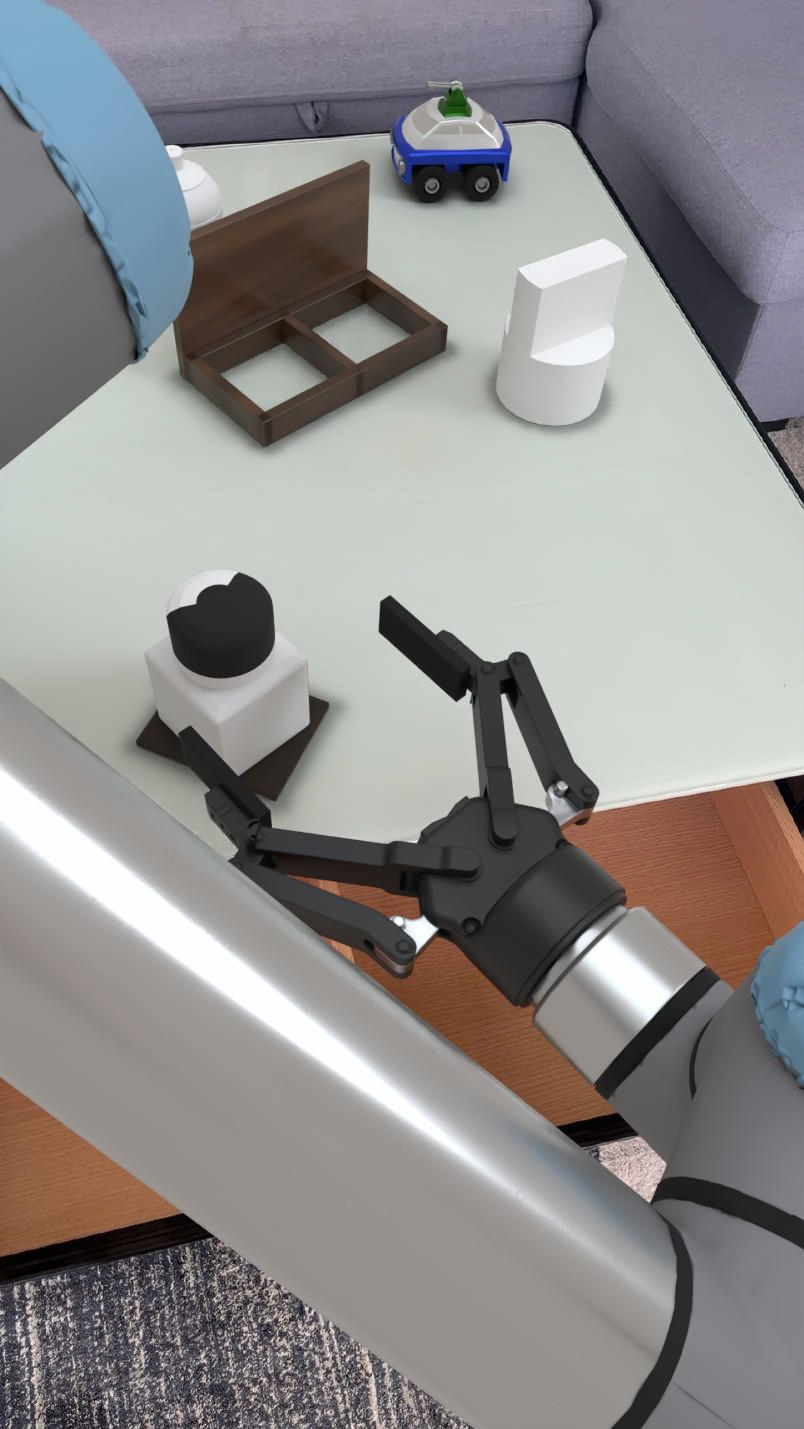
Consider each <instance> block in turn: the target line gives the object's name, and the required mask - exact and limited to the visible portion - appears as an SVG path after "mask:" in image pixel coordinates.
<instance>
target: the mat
mask: <svg viewBox="0 0 804 1429" xmlns="http://www.w3.org/2000/svg"><path fill="white" fill-rule="evenodd" d="M329 708H330V702H329V701H326V700H324V699H321V698H318V697H316V696H314V695H311V694H309V714H310V723H309V725H308V726H307V727H305V728H304V729H303V730H301V731H300V732H299V733H297V734H296V735H295V736H293V737H292V738H290V739H289V740H288V741H286V742H285V743H284V744H282V745H281V746H279V747H278V748H277V749H275V750H274V751H273V752H271V753H270V754H269V755H267V756H266V757H264V758H263V759H262V760H260V761H259V762H258V763H256V764H255V765H253V766H252V767H251V768H249V769H248V770H247V771H245V772H244V773H242V774H241V775H240V776H239V777H240V778H241V779H242V780H243V782H244V783H245V784H246V785H247V786H248V787H249V788H250V789H251V790H252V791H253V792H254V793H255V794H256V795H259V796H261V797H264V798H267V799H268V800H272V801H274V802H276V801H277V800H278V798H279V796H280V795H281V793H282V791H283V789H284V787H285V786H286V784H287V782H288V781H289V779H290V777H291V776H292V774H293V772H294V770H295V769H296V766H297V765H298V763H299V761H300V760H301V758H302V756H303V755H304V753H305V751H306V749H307V747H308V745H309V744H310V743H311V740H312V739H313V736H315V733H316V731H317V729H318V728H319V726H320V725H321V722H322V721H323V720H324V717H325V715H326V714H327V712H328V710H329ZM135 743H136V746H137V747H139V748H142V749H144V750H147V751H149V752H151V753H154V754H156V755H159V756H162V757H163V758H167V759H169V760H171V761H174V762H177V763H178V764H181V765H184V766H186V767H189V766H188V765H187V764H186V763H185V762H184V758H183V753H182V749H181V744H180V739H179V737H178V736H177V735H176V734H175V733H174V732H173V731H172V730H171V729H170V728H169V727H168V726H167V725H166V724H165V723H164V722H163V721H162V720H161V719H160V717H159V713H158V709H157V708H156V711H155V712H154V714H153V715H152V716H151V718H150V719H149V721H148V722H147V724H146V725H145V727H144V728H143V730H142V731H141V732H140V735H138V737H137V739H136V740H135Z"/></svg>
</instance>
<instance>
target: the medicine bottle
mask: <svg viewBox="0 0 804 1429" xmlns="http://www.w3.org/2000/svg"><path fill="white" fill-rule="evenodd" d="M165 618H166V623H167V628H168V633H169V635H168V636H166V637H165V638H163V639H161V640H160V641H158V642H156V643H155V644H153V645H151V646H150V647H149V648H147V649H146V650H145V652H144V658H145V663H146V668H147V672H148V676H149V680H150V684H151V688H152V692H153V696H154V702H155V706H156V710H157V709H158V713H159V717H160V719H161V720H162V721H163V722H164V723H165V724H166V725H167V726H168V727H169V728H170V729H171V730H172V731H173V732H174V733H175V734H176V735H177V736H178V737H179V735H178V733H179V732H180V731H182V730H183V729H185V728H186V727H188V726H189V725H191V726H192V727H193V728H194V729H195V730H196V731H197V733H198V734H199V735H200V736H201V737H202V738H203V739H204V740H205V741H206V742H207V743H208V744H209V745H210V746H211V747H212V748H213V750H214V751H215V752H216V753H217V754H218V755H219V756H220V757H221V758H222V759H223V760H224V761H225V762H226V763H227V764H228V766H229V767H230V768H231V769H232V770H233V771H234V772H235V773H236V774H237V775H238V776H240V775H241V774H242V773H244V772H245V771H247V770H248V769H249V768H251V767H252V766H253V765H255V764H256V763H258V762H259V761H260V760H262V759H263V758H264V757H266V756H267V755H269V754H270V753H271V752H273V751H274V750H275V749H277V748H278V747H279V746H281V745H282V744H284V743H285V742H286V741H288V740H289V739H290V738H292V737H293V736H295V735H296V734H297V733H299V732H300V731H301V730H303V729H304V728H305V727H307V726H308V725H309V723H310V714H309V695H310V688H309V664H308V663H309V660H308V658H307V657H306V656H305V655H304V654H303V653H302V652H301V651H300V650H298V649H297V647H295V645H293V644H292V643H291V642H289V640H288V639H286V638H285V637H284V636H283V635H282V634H281V633H280V632H279V631H277V630H276V626H275V614H274V602H273V598H272V596H271V593H270V592H269V591H268V590H267V588H266V587H265V586H264V584H263V583H261V582H260V581H259V580H258V579H257V578H256V579H255V578H254V577H252V576H250V575H249V574H246V573H244V572H241V571H236V570H232V569H212V570H207V571H202V572H199V573H198V574H195V575H193V576H191V577H190V578H187V579H185V581H183V582H182V583H180V584H179V585H178V587H176V588H175V590H174V591H173V592H172V593H171V595H170V597H169V599H168V601H167V603H166V608H165Z"/></svg>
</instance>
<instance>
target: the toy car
mask: <svg viewBox="0 0 804 1429" xmlns="http://www.w3.org/2000/svg"><path fill="white" fill-rule="evenodd" d="M426 87H427V90H436V89H439V90H442V89H444V92H443V96H437V97H432V98H431V99H429V100H427V101H425V102H424V103H423V104H420V105H419V106H417V107H416V108H414V109H413V110H411V111H410V113H408V114H399V115H397V116H396V118H395V120H394V122H393V126H392V127H390V129H389V142H390V145H392V147H391V150H390V155H391V156H390V157H391V162H392V166H393V168H394V171H395V172H396V174H397V175H398V176H399V177H400V179H401V180H402V181H403V183H404V184H412V183H413V187H414V191H415V194H416V196H417V197H418V198H419V199H420V201H423V202H425V203H435V202H438V201H440V200H442V199H443V198H444V197H445V196H446V195H447V193H448V191H449V190H450V189H449V188H450V180H449V176H448V174H450V173H453V174H454V173H456V174H460V176H461V181H462V184H463V187H464V190H465V193H466V195H467V196H468V197H469V199H470V200H472V201H475V202H484V201H487V200H490V199H491V198H492V197H493V196H495V195H496V193H497V192H498V190H499V186H500V179H501V182H508V179H509V172H510V163H511V162H510V161H511V156H512V151H513V145H512V140H511V136H510V133H509V131H508V130H507V127H506V126H505V124H503V122H502V121H500V120H499V118H498V117H497V116H496V115H495V114H494V113H490V112H489V111H488V110H486V109H485V108H484V107H482V106H480V105H479V104H478V102H476V101H474V100H473V99H471V98H470V97H467V94H466V92H465V91H464V86H463V83H462V81H461V80H459V79H458V78H454V79H450V81H449V82H446V81H434V80H427V81H426ZM497 170H498V172H497ZM498 173H499V174H498ZM499 176H500V177H499ZM411 182H412V183H411Z"/></svg>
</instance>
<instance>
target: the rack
mask: <svg viewBox="0 0 804 1429" xmlns="http://www.w3.org/2000/svg"><path fill="white" fill-rule="evenodd" d="M370 178H371V164H370V163H369V162H367V161H366V160H364V159H360V160H359V161H356V162H354V163H351V164H348V165H345V166H344V167H341V168H339V169H337V170H334V171H332V172H330V173H326V174H325V175H321V176H319V177H318V178H315V179H313V180H310V181H307V182H305V183H302V184H301V185H298V186H296V187H293V188H291V189H288V190H286V191H283V192H281V193H278V194H277V195H274V196H271V197H269V198H266V199H264V200H262V201H259V202H258V203H255V204H252V205H250V206H248V207H245V208H243V209H240V210H237V211H236V212H233V213H231V214H228V215H226V216H224V217H222V218H221V219H219V220H216V221H214V222H212V223H209V224H207V225H204V226H202V227H200V228H197V229H195V230H192V231H191V236H190V241H189V247H190V250H191V255H192V257H193V262H194V263H193V276H192V282H191V287H190V291H189V294H188V297H187V300H186V302H185V304H184V307H183V309H182V310H181V312H180V314H179V315H178V317H177V318H176V319H175V320H174V321H173V323H172V328H173V334H174V342H175V349H176V355H177V356H176V357H177V361H178V363H177V364H178V370H179V375H180V377H182V378H183V379H184V380H185V381H187V382H188V383H189V384H190V385H191V386H192V387H193V388H195V389H196V390H197V391H198V392H200V393H201V395H203V396H204V397H206V399H208V400H209V401H210V402H211V403H213V404H214V406H216V407H217V408H218V409H219V410H221V412H223V413H224V414H225V415H227V416H228V417H229V418H230V419H231V420H232V421H233V422H234V423H236V424H237V425H238V426H240V428H242V429H243V430H244V431H245V432H246V433H248V435H250V436H251V437H252V438H253V439H255V440H256V441H257V442H258V443H259V444H260V445H261V446H263V448H266V447H268V446H271V445H272V444H274V443H276V442H278V441H280V440H281V439H283V438H285V437H287V436H289V435H290V434H292V433H294V432H296V431H298V430H300V429H302V428H304V427H305V426H307V425H309V424H311V423H313V422H314V421H316V420H318V419H320V418H322V417H324V416H326V415H328V414H329V413H331V412H333V411H336V410H338V409H339V408H340V407H342V406H344V405H347V404H348V403H350V402H352V401H354V400H355V399H358V398H360V397H361V396H364V395H365V394H366V393H368V392H370V391H373V390H374V389H376V388H377V387H380V386H381V385H383V384H386V383H387V382H389V381H390V380H393V379H395V378H396V377H398V376H400V375H402V374H404V373H406V372H408V371H410V370H412V369H413V368H415V367H417V366H419V365H420V364H422V363H425V362H426V361H428V360H430V359H432V358H434V357H436V356H437V355H439V354H441V353H443V352H444V351H445V352H446V350H447V341H448V331H449V325H448V324H446V323H445V322H444V321H442V320H440V319H439V318H438V317H436V316H435V315H433V314H432V313H431V312H429V310H426V309H425V308H424V307H422V306H421V305H419V304H418V303H416V302H415V301H413V300H412V299H411V298H410V297H408V296H407V295H405V294H404V293H402V292H401V291H399V290H398V289H396V288H395V287H394V286H392V285H391V284H390V283H388V282H387V281H385V280H384V279H382V278H381V277H380V276H378V275H377V274H375V273H374V272H372V270H369V269H368V259H369V258H368V255H369V254H368V253H369V252H368V251H369V221H370V220H369V219H370V217H369V215H370V188H371V186H370V182H371V179H370ZM365 303H366V304H367V305H369V306H371V307H372V308H373V309H375V310H376V311H377V312H378V313H380V314H381V315H382V316H384V317H385V318H387V319H389V321H391V322H392V323H393V324H395V325H397V326H398V327H399V328H400V329H402V330H404V331H405V332H406V333H408V334H409V336H407V337H406V338H403V339H402V340H400V341H398V342H396V343H394V344H392V345H390V346H388V347H386V348H384V349H382V350H380V351H379V352H377V353H374V354H372V355H371V356H369V357H367V358H365V359H364V360H361V361H360V362H358V363H356V362H355V361H354V360H352V359H351V358H350V357H348V356H347V355H345V354H344V353H343V352H342V351H341V350H339V349H337V348H336V347H335V346H334V345H333V344H331V343H330V342H329V341H327V340H326V339H325V338H323V337H322V336H320V335H319V334H318V333H316V331H314V330H312V329H315V328H317V327H318V326H320V325H322V324H324V323H326V322H329V321H331V320H333V319H335V318H337V317H339V316H341V315H342V314H344V313H347V312H350V311H351V310H353V309H355V308H357V307H359V306H361V305H363V304H365ZM282 344H285V345H286V346H287V347H289V349H291V350H293V351H294V352H295V353H296V354H298V355H299V356H300V357H301V358H303V359H304V360H305V361H307V362H308V364H310V365H311V366H313V367H314V368H315V369H316V370H318V371H319V372H321V373H322V374H323V375H325V377H327V379H325V380H323V381H321V382H319V383H317V384H316V385H313V386H312V387H310V388H308V389H305V390H304V391H302V392H300V393H298V394H296V395H294V396H292V397H290V398H289V399H286V400H285V401H283V402H281V403H279V404H277V405H275V406H273V407H271V408H269V409H267V410H266V411H265V410H264V409H262V407H261V406H259V405H258V404H257V403H256V402H254V401H253V400H251V399H250V398H249V397H248V396H247V395H246V394H245V393H243V392H242V391H241V390H240V389H238V388H237V387H236V386H235V384H233V383H232V382H230V381H229V380H228V379H227V378H226V377H225V376H223V375H222V373H223V374H224V373H225V372H226V371H229V370H231V369H233V368H235V367H237V366H239V365H241V364H243V363H245V362H247V361H249V360H251V359H254V358H255V357H257V356H259V355H261V354H264V353H265V352H267V351H269V350H272V349H273V348H275V347H278V346H279V345H282Z"/></svg>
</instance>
